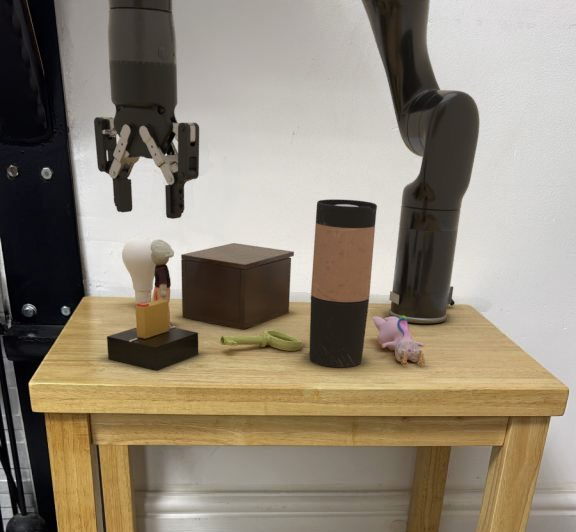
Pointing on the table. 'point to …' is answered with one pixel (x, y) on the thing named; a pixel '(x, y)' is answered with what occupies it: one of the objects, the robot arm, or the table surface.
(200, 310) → the box
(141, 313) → the lock knob
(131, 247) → the lightbulb
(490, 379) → the table surface
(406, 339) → the pink toy animal
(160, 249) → the grandmother figurine
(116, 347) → the plate
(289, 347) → the key
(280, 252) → the lockbox lid
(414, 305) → the robot arm
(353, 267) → the travel mug
